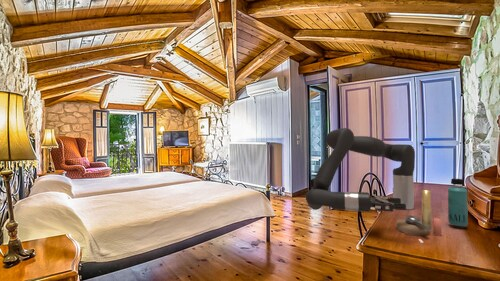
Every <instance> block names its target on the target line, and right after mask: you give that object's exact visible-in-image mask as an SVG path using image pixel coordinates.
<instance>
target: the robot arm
mask: <svg viewBox="0 0 500 281" xmlns="http://www.w3.org/2000/svg"><path fill="white" fill-rule="evenodd" d="M325 142H326V144H327V145H328V146H329V147H330V149H333V150H332V151H331V153H330V154H329V155H328V157H327V158H326V159H325V160H324V161H323V163H321V165H320V167H319V168H318V171H317V172H316V175H315V177H314V180H313V186H312V189H309V190H308V191H307V192H306V193H305V202H306V203H307V205H308V207H309V208H310V209H311V210H313V211H316V210H317V211H318V210H320V209H321V208H322V207H329V208H331V209H334V210H340V211H341V210H342V211H344V210H345V211H351V212H365V213H369V212H371V208H374V210H375V211H379V212H380V211H381V212H394V211H395V210H397V211H406V210H414V209H415V208H414V206H415V204H414V202H415V201H414V199H415V198H414V195H415V194H414V171H415V161H416V160H415V158H416V150H415V149H414V147H413V145H411V144H400V143H399V144H396V143H395V144H390V143H385V141H383V140H382V139H380V138H377V137H373V136H367V135H365V136H363V135H359V136H358V135H356V136H355V135H354V132H353V131H352V130H351V129H350V128H348V127H342V128H338V129H334V130H332V131H329V132H328V133H327V135H326V137H325ZM349 151H350V152H353V153H357V154H361V155H365V156H371V157H377V158H379V157H380V158H385V159H388V160H391V161H393V162H398V163H400V166H399V167H396V168H393V169H392V197H390V196H387V195H373V194H372V195H371V193H370V192H364V191H362V192H361V191H330V190H329V189H330V186H331V185H332V183H333V180H334V177H335V175H336V173H337V171H338V168H339V166H340V165H341V163H342V162H343V160H344V158H345V157H346V155H347V154H348V152H349Z"/></svg>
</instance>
